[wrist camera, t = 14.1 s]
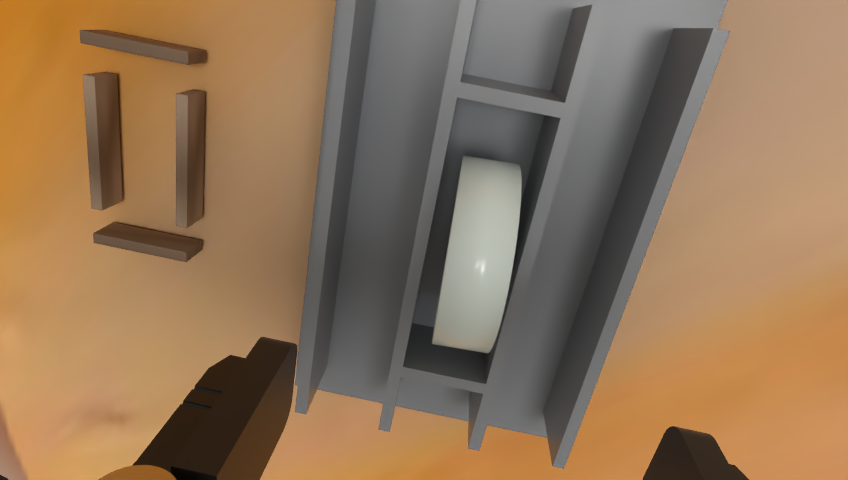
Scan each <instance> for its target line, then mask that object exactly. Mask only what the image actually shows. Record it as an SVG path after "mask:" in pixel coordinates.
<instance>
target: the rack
mask: <svg viewBox="0 0 848 480" xmlns="http://www.w3.org/2000/svg"><path fill="white" fill-rule="evenodd" d="M727 1H728V0H336V8H335V17H334V26H333V35H332V45H331V54H330V63H329V73H328V82H327V91H326V101H325V110H324V119H323V129H322V138H321V147H320V157H319V166H318V175H317V185H316V194H315V203H314V212H313V222H312V231H311V240H310V250H309V259H308V268H307V278H306V287H305V296H304V306H303V315H302V324H301V334H300V343H299V352H298V361H297V371H296V380H295V385H298V388H297V397H296V406H295V412H297V413H302V414H306V413H307V411H308V409H309V406H310V404H311V402H312V400H313V397H314V395H315V393H316V390H322V391H327V392H332V393H336V394H341V395H346V396H351V397H355V398H360V399H365V400H370V401H374V402H379V403H383V408H382V414H381V419H380V424H379V429H378V430H383V431H387V432H390V428H391V423H392V419H393V414H394V409H395V406H398V407H403V408H408V409H413V410H417V411H422V412H427V413H432V414H436V415H441V416H446V417H451V418H455V419H460V420H465V421H469V427H468V449H473V450H477V451H479V450H480V447H481V443H482V440H483V437H484V433H485V430H486V426H487V425H489V426H493V427H498V428H503V429H508V430H512V431H517V432H522V433H527V434H531V435H536V436H541V437H546V438H548V443H549V449H550V455H551V460H552V466H553V467H558V468H563V469H564V467H565V464H566V462H567V459H568V456H569V454H570V451H571V449H572V446H573V443H574V441H575V438H576V435H577V433H578V430H579V428H580V425H581V422H582V420H583V417H584V414H585V412H586V409H587V406H588V404H589V401H590V399H591V396H592V393H593V391H594V388H595V385H596V383H597V380H598V377H599V375H600V372H601V370H602V367H603V364H604V362H605V359H606V356H607V354H608V351H609V348H610V346H611V343H612V341H613V338H614V335H615V333H616V330H617V327H618V325H619V322H620V320H621V317H622V314H623V312H624V309H625V306H626V304H627V301H628V298H629V296H630V293H631V291H632V288H633V285H634V283H635V280H636V277H637V275H638V272H639V269H640V267H641V264H642V262H643V259H644V256H645V254H646V251H647V248H648V246H649V243H650V241H651V238H652V235H653V233H654V230H655V227H656V225H657V222H658V219H659V217H660V214H661V212H662V209H663V206H664V204H665V201H666V198H667V196H668V193H669V190H670V188H671V185H672V183H673V180H674V177H675V175H676V172H677V169H678V167H679V164H680V161H681V159H682V156H683V154H684V151H685V148H686V146H687V143H688V140H689V138H690V135H691V133H692V130H693V127H694V125H695V122H696V119H697V117H698V114H699V111H700V109H701V106H702V104H703V101H704V98H705V96H706V93H707V90H708V88H709V85H710V82H711V80H712V77H713V75H714V72H715V69H716V67H717V64H718V61H719V59H720V56H721V54H722V51H723V48H724V46H725V43H726V40H727V38H728V35H729V32H730V31H725V30H720V29H717V28H718V25H719V22H720V20H721V17H722V14H723V11H724V9H725V6H726V3H727ZM463 155H464V156H471V157H477V158H483V159H489V160H496V161H502V162H508V163H515V164H519V166H520V169H521V178H522V188H521V207H520V218H519V227H518V235H517V242H516V249H515V256H514V262H513V268H512V274H511V279H510V284H509V290H508V294H507V299H506V304H505V308H504V312H503V316H502V320H501V324H500V327H499V331H498V334H497V337H496V340H495V342H494V345H493V347H492V349H491V351H490V352H489V353H482V352H477V351H471V350H465V349H459V348H453V347H447V346H441V345H435V344H432V338H433V331H434V323H435V317H436V310H437V303H438V297H439V291H440V284H441V278H442V272H443V265H444V259H445V253H446V247H447V241H448V235H449V229H450V223H451V217H452V211H453V205H454V199H455V194H456V188H457V182H458V177H459V171H460V166H461V161H462V156H463Z"/></svg>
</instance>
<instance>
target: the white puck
mask: <svg viewBox="0 0 848 480" xmlns="http://www.w3.org/2000/svg"><path fill="white" fill-rule="evenodd" d="M521 188H522V178H521V169H520V166H519V164H515V163H508V162H502V161H496V160H489V159H483V158H477V157H471V156H464V155H463V156H462V161H461V166H460V171H459V177H458V182H457V188H456V194H455V199H454V205H453V211H452V217H451V223H450V229H449V235H448V241H447V247H446V253H445V259H444V265H443V272H442V278H441V284H440V291H439V297H438V303H437V310H436V317H435V323H434V331H433V338H432V344H435V345H441V346H447V347H453V348H459V349H465V350H471V351H477V352H482V353H489V352H490V351H491V349H492V347H493V345H494V342H495V340H496V337H497V334H498V331H499V327H500V324H501V320H502V316H503V312H504V308H505V304H506V299H507V294H508V290H509V284H510V279H511V274H512V268H513V262H514V256H515V249H516V242H517V235H518V227H519V218H520V207H521Z"/></svg>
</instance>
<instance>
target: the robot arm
mask: <svg viewBox="0 0 848 480" xmlns="http://www.w3.org/2000/svg"><path fill="white" fill-rule="evenodd" d="M296 357H297V345H296V344H294V343H289V342H284V341H280V340H275V339H270V338H266V337H261V338H260V339H259V340H258V341H257V343H256V344H255V346H254V347H253V348H252V350H251V351H250V353H249V354H248V356H247V357H246V358H242V357H237V356H232V355H230V356H228V357H226V358H225V359H223V360H221V361H220V362H218V363H216V364H215V365H213V366H212V367H210V368H209V369H208V370H207V371H206V372H205V374H204V375H203V376H202V378H201V379H200V380H199V381H198V383H197V384H196V385H195V388H194V390H193V389H192V390H191V392H190V393H189V394H188V396H187V397H186V398H185V399H184V401H183V404H182V405H181V404H180V406H179V407H178V408H177V410H176V411H175V412H174V413H173V415H172V416H171V417H170V419H169V420H168V421H167V422H166V424H165V425H164V426H163V428H162V429H161V430H160V431H159V433H158V434H157V435H156V437H155V438H154V439H153V440H152V442H151V443H150V444H149V446H148V447H147V448H146V449H145V451H144V452H143V453H142V454H141V456H140V457H139V458H138V460H137V461H136V462H135V463H134V464H133V465H132V466H129V467H125V468H122V469H118V470H116V471H113V472H111V473H109V474H107V475H105V476H104V477H102V478H100V479H99V480H260V478H261V476H262V474H263V472H264V469H265V467H266V465H267V463H268V461H269V459H270V457H271V455H272V453H273V451H274V449H275V447H276V445H277V442H278V440H279V438H280V436H281V434H282V432H283V430H284V428H285V425H286V422H287V419H288V416H289V412H290V408H291V403H292V395H293V386H294V376H295V366H296ZM0 480H8V479H7V478H5V477H3V476H1V475H0ZM643 480H749V479H748V478H747V477H746V476H745V475H744V474H743V473H742V472H741V471H740V470H739V469H738V468H737V467H736V466H735V465H731V464H728V462H727V460H726V458H725V456H724V455H723V453H722V451H721V449H720V447H719V446H718V444H717V442H716V440H715V439H714V438H713V437H712V436H711V435H710V434H707V433H702V432H697V431H693V430H688V429H683V428H679V427H674V426H672V427H669V428H668V429H667V430H666V432H665V433H664V435H663V438H662V440H661V442H660V444H659V446H658V448H657V450H656V452H655V454H654V456H653V458H652V460H651V463H650V465H649V467H648V469H647V471H646V473H645V475H644V477H643Z"/></svg>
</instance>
